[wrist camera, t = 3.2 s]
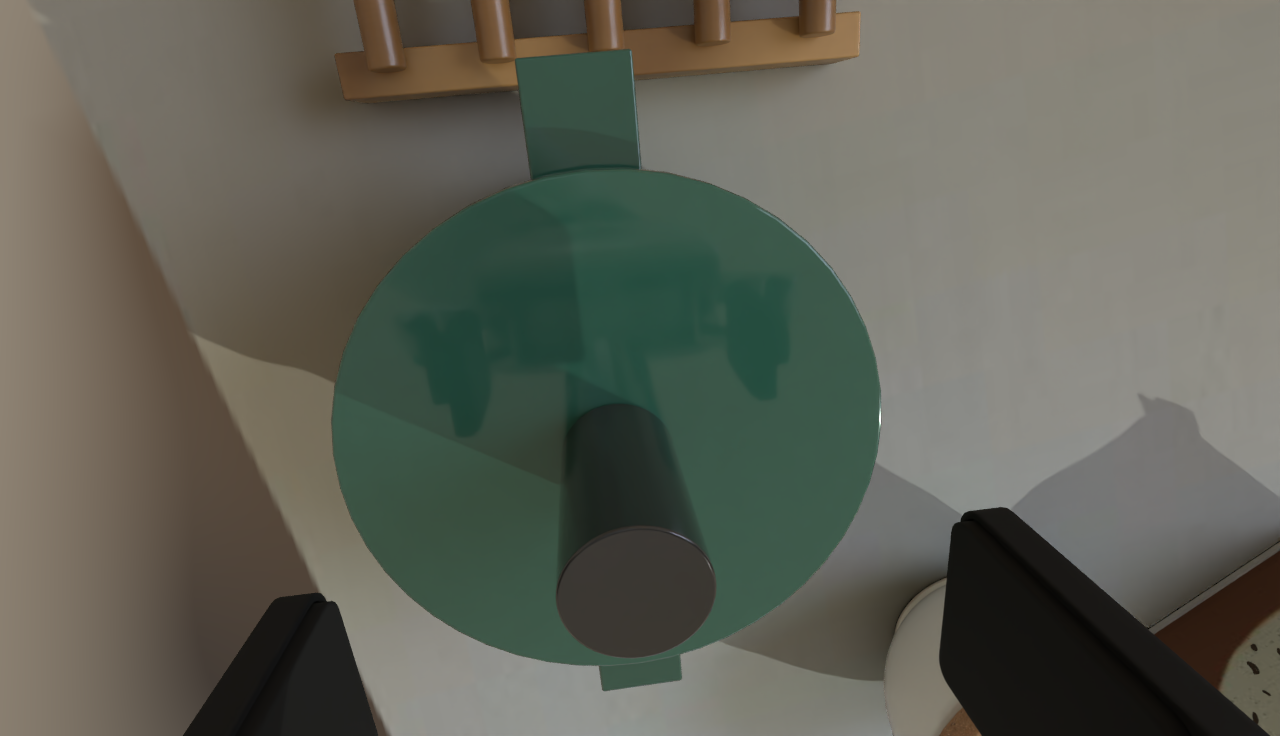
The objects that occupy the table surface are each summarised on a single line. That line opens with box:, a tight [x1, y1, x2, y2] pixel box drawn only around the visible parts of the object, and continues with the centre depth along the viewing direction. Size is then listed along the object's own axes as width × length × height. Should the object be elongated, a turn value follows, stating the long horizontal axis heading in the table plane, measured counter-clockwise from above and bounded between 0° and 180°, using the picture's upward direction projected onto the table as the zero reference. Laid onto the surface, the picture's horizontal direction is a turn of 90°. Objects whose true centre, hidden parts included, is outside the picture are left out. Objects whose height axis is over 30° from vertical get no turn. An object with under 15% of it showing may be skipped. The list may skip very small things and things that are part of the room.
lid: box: [331, 167, 881, 666], centre depth 13 cm, size 13×13×6 cm
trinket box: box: [884, 578, 982, 736], centre depth 25 cm, size 11×11×9 cm
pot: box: [514, 49, 682, 691], centre depth 19 cm, size 12×17×8 cm
